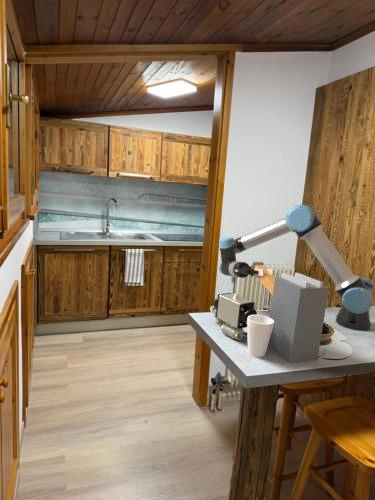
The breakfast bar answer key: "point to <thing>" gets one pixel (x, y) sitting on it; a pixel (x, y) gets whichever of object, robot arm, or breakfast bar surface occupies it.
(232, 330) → the ball valve
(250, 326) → the foam cup
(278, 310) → the charcoal stand
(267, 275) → the orange bar
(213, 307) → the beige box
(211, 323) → the breakfast bar surface
